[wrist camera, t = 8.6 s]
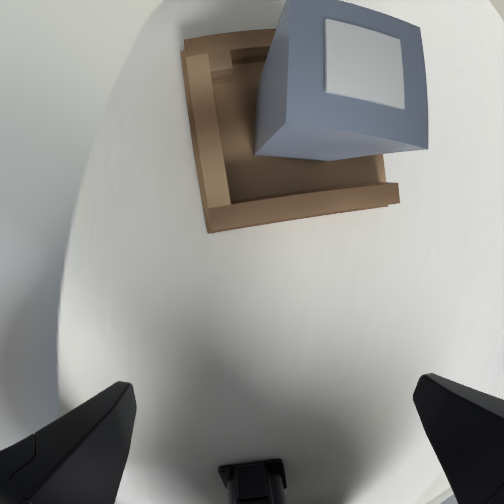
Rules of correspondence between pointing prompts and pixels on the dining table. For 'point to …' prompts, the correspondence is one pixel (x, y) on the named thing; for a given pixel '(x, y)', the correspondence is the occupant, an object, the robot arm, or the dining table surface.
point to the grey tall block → (341, 85)
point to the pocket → (242, 146)
